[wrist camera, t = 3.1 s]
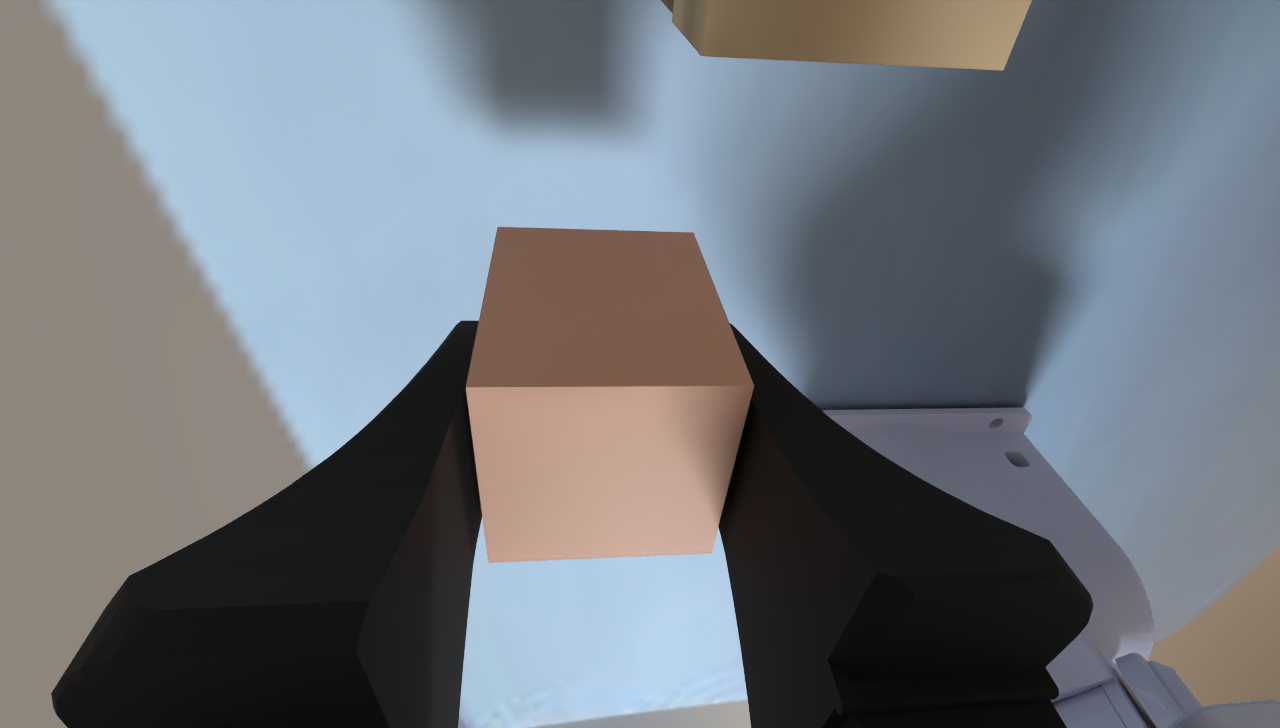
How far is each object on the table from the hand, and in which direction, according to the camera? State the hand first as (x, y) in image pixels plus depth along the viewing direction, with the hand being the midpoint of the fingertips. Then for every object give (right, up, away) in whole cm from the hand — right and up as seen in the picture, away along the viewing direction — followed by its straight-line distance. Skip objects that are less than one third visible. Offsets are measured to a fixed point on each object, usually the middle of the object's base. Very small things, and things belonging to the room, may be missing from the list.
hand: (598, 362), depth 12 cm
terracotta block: (0, +1, +1) cm, 2 cm away
